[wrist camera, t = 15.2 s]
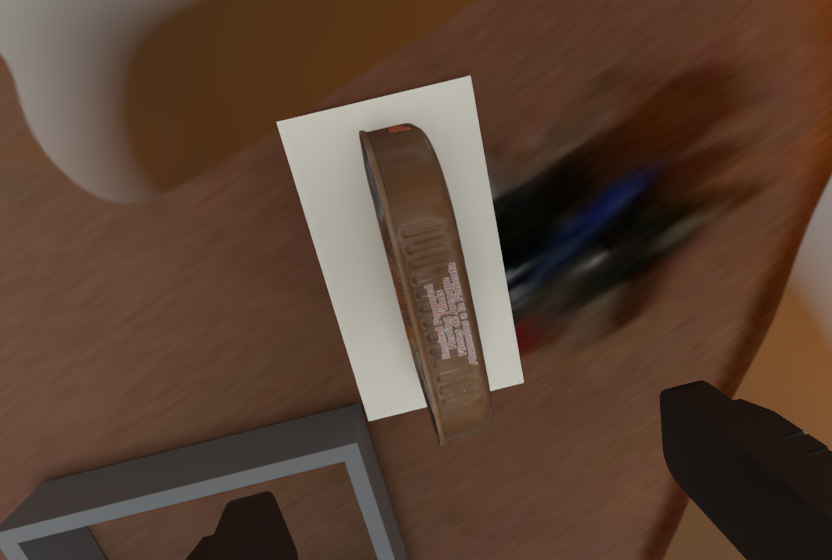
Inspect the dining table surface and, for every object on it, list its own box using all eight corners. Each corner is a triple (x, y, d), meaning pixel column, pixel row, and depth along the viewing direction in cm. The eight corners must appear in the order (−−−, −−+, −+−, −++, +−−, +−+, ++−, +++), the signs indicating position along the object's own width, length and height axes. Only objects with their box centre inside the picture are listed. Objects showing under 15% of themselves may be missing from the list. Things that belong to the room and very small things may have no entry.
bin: (411, 570, 33) (416, 626, 29) (139, 640, 33) (107, 704, 29) (359, 403, 28) (357, 442, 25) (43, 482, 28) (-10, 534, 24)
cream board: (516, 370, 29) (524, 382, 27) (369, 407, 29) (368, 421, 27) (464, 80, 23) (470, 75, 22) (282, 123, 23) (276, 122, 22)
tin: (356, 135, 22) (343, 128, 14) (416, 121, 22) (437, 106, 14) (419, 387, 27) (437, 490, 19) (469, 375, 27) (508, 472, 19)
